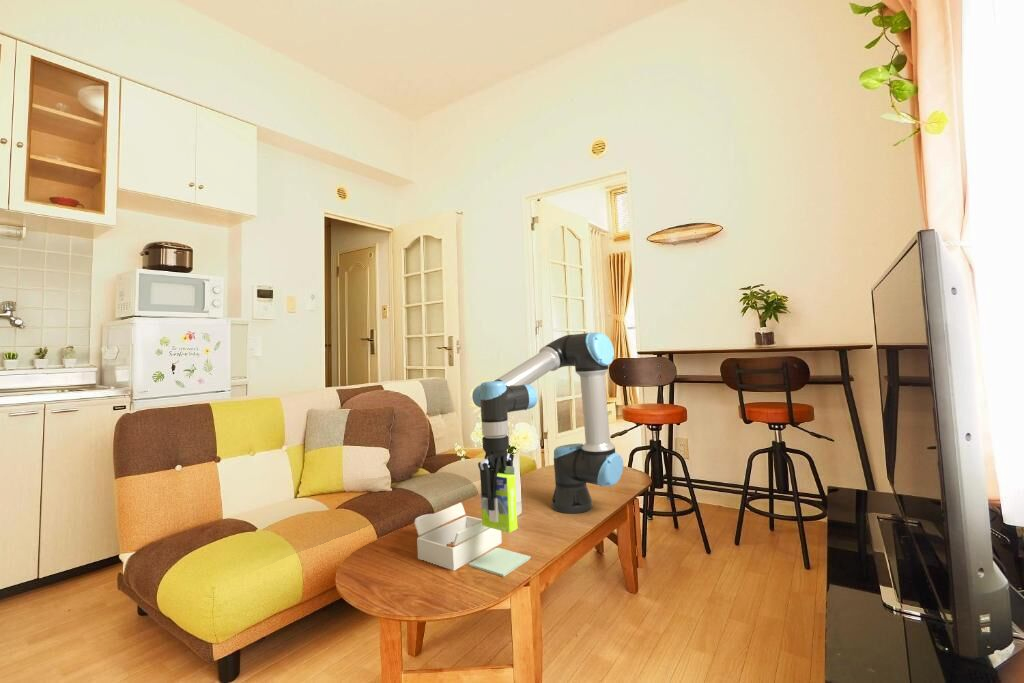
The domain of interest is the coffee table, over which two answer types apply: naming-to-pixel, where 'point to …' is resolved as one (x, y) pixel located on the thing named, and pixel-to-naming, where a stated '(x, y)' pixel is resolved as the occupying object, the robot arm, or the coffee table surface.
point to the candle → (422, 518)
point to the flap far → (439, 518)
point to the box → (503, 503)
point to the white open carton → (455, 557)
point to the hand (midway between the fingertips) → (499, 518)
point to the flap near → (469, 532)
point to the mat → (499, 561)
